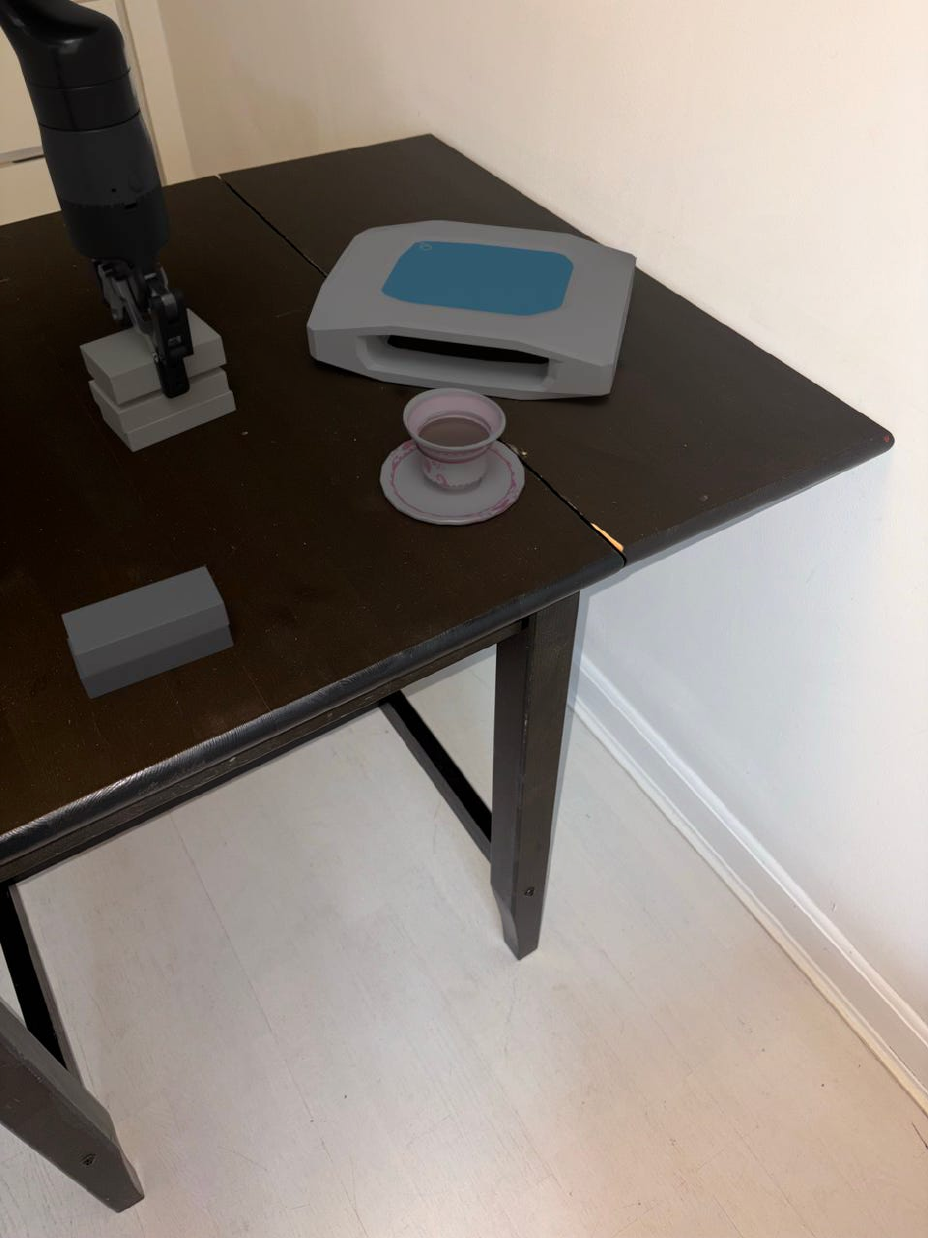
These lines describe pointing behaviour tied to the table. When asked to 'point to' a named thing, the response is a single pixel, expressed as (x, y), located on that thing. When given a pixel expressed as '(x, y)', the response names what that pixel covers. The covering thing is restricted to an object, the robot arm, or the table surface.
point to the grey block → (166, 409)
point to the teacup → (452, 460)
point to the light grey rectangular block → (146, 360)
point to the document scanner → (476, 308)
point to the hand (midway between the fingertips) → (159, 375)
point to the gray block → (147, 631)
